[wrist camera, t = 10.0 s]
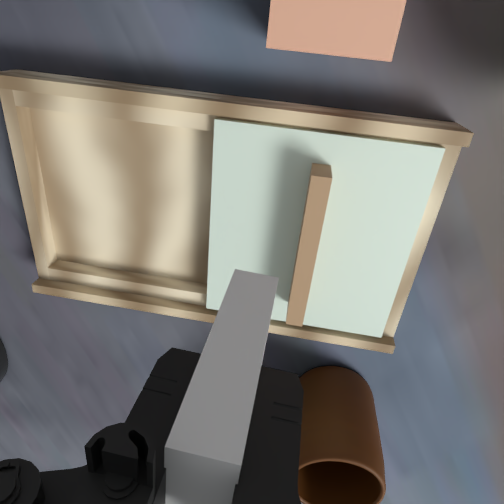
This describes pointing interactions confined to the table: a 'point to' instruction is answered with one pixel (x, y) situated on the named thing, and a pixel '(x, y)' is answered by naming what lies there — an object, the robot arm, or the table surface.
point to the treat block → (336, 27)
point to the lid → (317, 219)
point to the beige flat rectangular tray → (162, 188)
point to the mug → (339, 440)
